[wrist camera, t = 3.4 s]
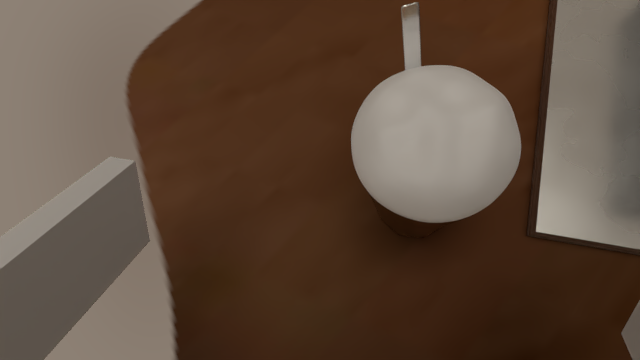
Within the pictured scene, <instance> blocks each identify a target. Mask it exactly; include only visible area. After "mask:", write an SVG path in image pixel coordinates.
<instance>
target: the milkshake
mask: <svg viewBox="0 0 640 360" xmlns="http://www.w3.org/2000/svg"><path fill="white" fill-rule="evenodd" d="M401 15H402V31H403V47H404V63H405V71H403V72H400V73H398V74H395V75H393V76H391V77H389V78H388V79H386V80H384V81H383V82H381V83H380V84H379V85H378V86H376V87H375V88H374V89H373V90H372V91H371V93H370V94H369V95H368V96H367V98H366V99H365V101H364V102H363V104H362V105H361V107H360V109H359V111H358V113H357V115H356V118H355V121H354V124H353V128H352V133H351V150H352V158H353V163H354V167H355V170H356V172H357V175H358V177H359V179H360V181H361V182H362V184H363V186H364V187H365V188H366V190H367V191H368V193H369V195H370V196H371V198H372V200H373V202H374V205H375V207H376V209H377V211H378V214H379V216H380V218H381V220H382V221H383V222H384V223H386V224H387V225H388V226H389V227H390V228H391V229H392V230H394V231H395V232H396V233H397V234H398V235H400V236H410V237H419V238H424V237H426V236H428V235H429V234H431V233H433V232H434V231H436V230H438V229H440V228H442V227H444V226H446V225H449V224H451V223H454V222H457V221H459V220H462V219H464V218H467V217H469V216H471V215H473V214H475V213H477V212H479V211H481V210H483V209H484V208H486V207H487V206H488V205H490V204H491V203H492V202H493V201H494V200H496V199H497V198H498V197H499V195H500V194H501V193H502V192H503V191H504V190H505V188H506V187H507V186H508V184H509V183H510V181H511V180H512V178H513V176H514V174H515V172H516V170H517V167H518V164H519V160H520V155H521V139H520V133H519V129H518V126H517V122H516V119H515V116H514V113H513V110H512V107H511V105H510V103H509V102H508V100H507V99H506V97H505V96H504V95H503V94H502V93H501V92H500V91H498V90H497V89H496V88H494V87H493V86H492V85H490V84H489V83H487V82H486V81H484V80H483V79H481V78H480V77H478V76H477V75H475V74H473V73H472V72H470V71H468V70H465V69H462V68H459V67H455V66H447V65H431V66H422V67H421V44H420V12H419V3H418V2H415V3H411V4H407V5H404V6H402V8H401Z"/></svg>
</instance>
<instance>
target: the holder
mask: <svg viewBox="0 0 640 360" xmlns="http://www.w3.org/2000/svg"><path fill="white" fill-rule="evenodd" d="M527 236H531V237H537V238H543V239H548V240H554V241H560V242H566V243H571V244H577V245H583V246H589V247H594V248H600V249H606V250H611V251H617V252H623V253H629V254H634V255H640V0H550V5H549V15H548V25H547V35H546V45H545V55H544V66H543V76H542V86H541V96H540V106H539V116H538V126H537V136H536V147H535V157H534V167H533V177H532V187H531V197H530V207H529V217H528V228H527Z"/></svg>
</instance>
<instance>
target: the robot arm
mask: <svg viewBox="0 0 640 360" xmlns="http://www.w3.org/2000/svg"><path fill="white" fill-rule="evenodd" d="M149 241H150V240H149V235H148V229H147V224H146V218H145V213H144V207H143V201H142V196H141V191H140V185H139V179H138V174H137V169H136V163H135V161H133V160H127V159H121V158H115V157H109V158H107V159H106V160H105V161H103V162H102V163H101V164H99V165H98V166H96V167H95V168H94V169H92V170H91V171H90V172H88V173H87V174H85V175H84V176H83V177H82V178H80V179H79V180H77V181H76V182H75V183H73V184H72V185H70V186H69V187H68V188H66V189H65V190H64V191H62V192H61V193H60V194H58V195H57V196H55V197H54V198H53V199H51V200H50V201H48V202H47V203H46V204H44V205H43V206H42V207H41V208H39V209H38V210H36V211H35V212H33V213H32V214H31V215H29V216H28V217H27V218H25V219H24V220H23V221H21V222H20V223H18V224H17V225H16V226H14V227H13V228H12V229H10V230H9V231H7V232H6V233H5V234H3V235H2V236H1V237H0V360H44V359H45V357H46V356H47V355H48V354H49V353H50V352H51V351H52V350H53V349H54V347H55V346H56V345H57V344H58V343H59V342H60V341H61V340H62V339H63V337H64V336H65V335H66V334H67V333H68V332H69V331H70V330H71V328H72V327H73V326H74V325H75V324H76V323H77V322H78V321H79V320H80V318H81V317H82V316H83V315H84V314H85V313H86V312H87V311H88V309H89V308H90V307H91V306H92V305H93V304H94V303H95V302H96V301H97V299H98V298H99V297H100V296H101V295H102V294H103V293H104V292H105V290H106V289H107V288H108V287H109V286H110V285H111V284H112V283H113V281H114V280H115V279H116V278H117V277H118V276H119V275H120V274H121V273H122V271H123V270H124V269H125V268H126V267H127V266H128V265H129V264H130V262H131V261H132V260H133V259H134V258H135V257H136V256H137V255H138V254H139V252H140V251H141V250H142V249H143V248H144V247H145V246H146V245H147V243H148V242H149ZM621 334H622V336H623V339H624V341H625V343H626V346H627V348H628V350H629V353H630V355H631V357H632V360H640V300H639V302H638V304H637V306H636V307H635V309H634V311H633V313H632V315H631V316H630V318H629V320H628V322H627V323H626V325H625V327H624V329H623V331H622V332H621Z"/></svg>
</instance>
